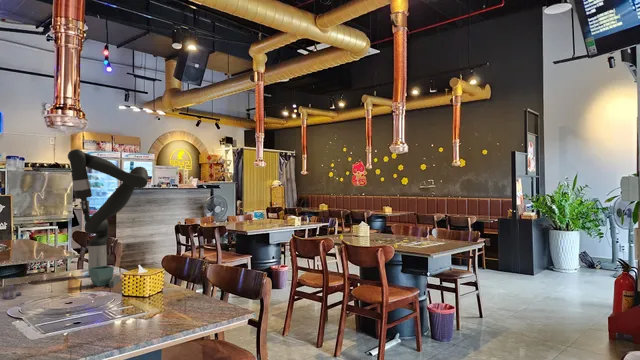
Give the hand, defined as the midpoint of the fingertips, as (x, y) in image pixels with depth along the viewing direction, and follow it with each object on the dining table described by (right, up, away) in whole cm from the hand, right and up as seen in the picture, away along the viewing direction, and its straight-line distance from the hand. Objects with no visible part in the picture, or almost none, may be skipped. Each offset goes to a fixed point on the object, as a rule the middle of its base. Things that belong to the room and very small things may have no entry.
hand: (87, 221), depth 211 cm
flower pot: (+7, -33, 0) cm, 33 cm away
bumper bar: (+13, -32, +1) cm, 35 cm away
